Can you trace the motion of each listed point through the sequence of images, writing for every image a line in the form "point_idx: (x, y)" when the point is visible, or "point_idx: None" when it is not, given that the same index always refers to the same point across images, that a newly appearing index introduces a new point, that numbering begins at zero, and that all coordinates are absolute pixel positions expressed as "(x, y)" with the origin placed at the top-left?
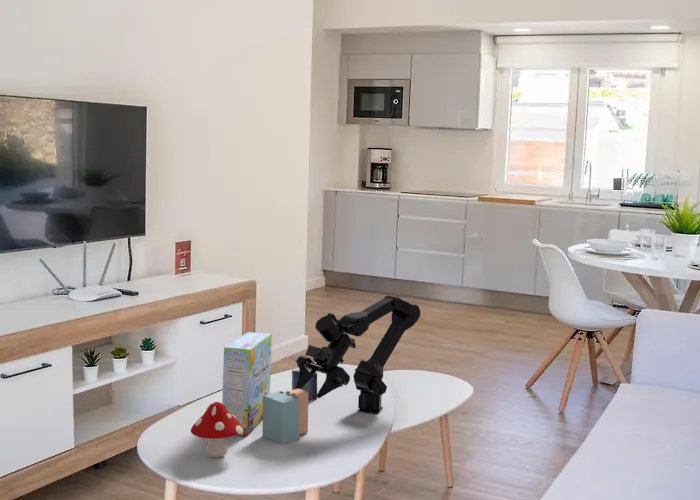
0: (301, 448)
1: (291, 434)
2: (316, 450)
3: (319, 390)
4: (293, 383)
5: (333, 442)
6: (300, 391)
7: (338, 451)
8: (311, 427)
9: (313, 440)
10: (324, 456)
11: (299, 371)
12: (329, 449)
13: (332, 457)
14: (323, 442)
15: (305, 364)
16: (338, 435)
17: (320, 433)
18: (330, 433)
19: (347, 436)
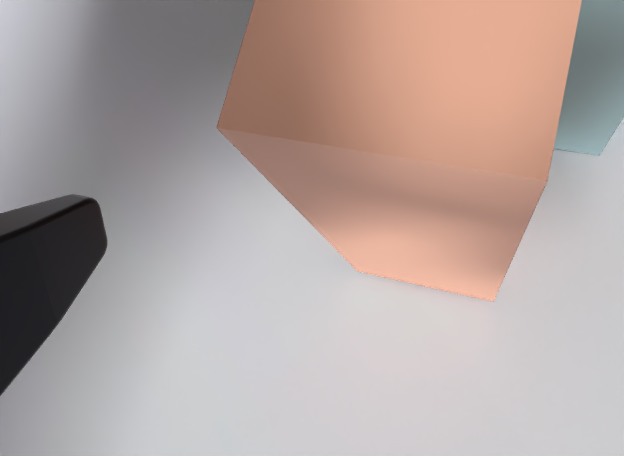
0: (226, 8)
1: None
2: (130, 45)
3: (1, 232)
4: None
5: None
6: (366, 47)
7: (10, 119)
8: (416, 415)
9: (234, 170)
10: (49, 8)
11: None
12: (69, 109)
13: (6, 26)
14: (156, 183)
15: None
16: (127, 374)
17: (267, 328)
18: (200, 377)
19: (62, 395)
